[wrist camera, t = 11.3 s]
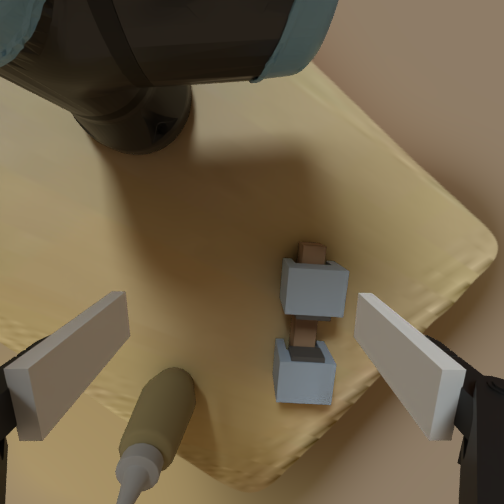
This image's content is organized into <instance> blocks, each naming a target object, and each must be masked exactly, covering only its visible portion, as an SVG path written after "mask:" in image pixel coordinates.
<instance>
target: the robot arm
mask: <svg viewBox="0 0 504 504" xmlns="http://www.w3.org/2000/svg"><path fill="white" fill-rule="evenodd" d="M337 4H338V0H0V77H2V78H4V79H6V80H8V81H10V82H12V83H14V84H16V85H18V86H20V87H22V88H24V89H26V90H28V91H30V92H32V93H34V94H36V95H38V96H40V97H42V98H44V99H46V100H48V101H50V102H52V103H54V104H56V105H58V106H60V107H62V108H64V109H66V110H67V111H70V112H71V113H72V115H73V116H74V118H75V119H76V121H77V122H78V123H79V125H80V126H81V127H82V128H83V129H84V130H85V131H86V132H87V133H88V134H89V135H90V136H91V137H93V138H94V139H95V140H97V141H98V142H100V143H101V144H103V145H105V146H107V147H110V148H112V149H115V150H117V151H120V152H123V153H127V154H148V153H152V152H155V151H158V150H160V149H162V148H164V147H165V146H167V145H168V144H170V143H171V142H172V141H173V140H174V139H175V138H176V137H177V136H178V135H179V133H180V132H181V130H182V129H183V127H184V125H185V123H186V121H187V118H188V115H189V111H190V106H191V87H190V85H197V84H211V83H225V82H239V81H249V82H250V83H258V82H260V81H261V80H263V79H267V78H275V77H283V76H290V75H294V74H297V73H298V72H300V71H302V70H303V69H304V68H305V67H306V66H307V65H308V64H309V62H310V61H311V60H312V59H313V58H314V56H315V55H316V54H317V52H318V50H319V49H320V47H321V45H322V43H323V41H324V39H325V36H326V34H327V31H328V29H329V27H330V24H331V21H332V19H333V16H334V13H335V10H336V6H337ZM129 337H130V330H129V320H128V310H127V300H126V292H116V291H112V292H110V293H109V294H108V295H106V296H105V297H103V298H102V299H101V300H99V301H98V302H96V303H95V304H94V305H92V306H91V307H89V308H88V309H87V310H85V311H84V312H82V313H81V314H80V315H78V316H77V317H75V318H74V319H73V320H71V321H70V322H68V323H67V324H66V325H64V326H63V327H61V328H60V329H59V330H57V331H56V332H54V333H53V334H52V335H49V336H47V337H45V338H43V339H41V340H38V341H36V342H35V343H34V344H32V345H31V346H29V347H28V348H26V350H24V351H22V352H21V353H19V354H18V355H17V357H13V358H12V359H11V360H9V361H8V362H6V363H5V364H3V365H2V366H0V504H5V494H6V473H7V453H8V452H7V451H8V444H7V440H6V436H7V435H8V434H9V433H10V432H11V431H12V430H13V429H14V428H15V427H17V432H18V436H19V440H20V441H43V440H44V438H45V437H46V436H47V435H48V434H49V432H50V431H51V430H52V429H53V428H54V426H55V425H56V424H57V423H58V422H59V420H60V419H61V418H62V417H63V416H64V414H65V413H66V412H67V411H68V409H69V408H70V407H71V406H72V405H73V404H74V403H75V401H76V400H77V399H78V398H79V397H80V395H81V394H82V393H83V392H84V391H85V389H86V388H87V387H88V386H89V385H90V383H91V382H92V381H93V380H94V379H95V377H96V376H97V375H98V374H99V373H100V371H101V370H102V369H103V368H104V367H105V365H106V364H107V363H108V362H109V361H110V359H111V358H112V357H113V356H114V355H115V354H116V352H117V351H118V350H119V349H120V348H121V346H122V345H123V344H124V343H125V342H126V340H127V339H128V338H129ZM354 338H355V339H356V341H357V342H358V343H359V345H360V346H361V348H362V349H363V350H364V352H365V353H366V354H367V356H368V357H369V359H370V360H371V361H372V363H373V364H374V365H375V367H376V368H377V370H378V371H379V372H380V374H381V375H382V376H383V378H384V379H385V381H386V382H387V383H388V385H389V386H390V387H391V389H392V390H393V392H394V393H395V394H396V396H397V397H398V398H399V400H400V401H401V402H402V404H403V405H404V407H405V408H406V409H407V411H408V412H409V413H410V415H411V416H412V418H413V419H414V420H415V422H416V423H417V425H418V426H419V427H420V429H421V430H422V431H423V433H424V434H425V436H426V437H427V438H428V440H451V439H452V434H453V430H454V425H455V426H456V427H457V428H458V429H459V431H460V432H461V433H462V434H463V435H464V437H463V441H462V445H461V450H460V454H459V459H458V464H460V465H461V468H460V488H459V504H504V379H501V378H497V377H493V376H483V375H482V374H481V373H479V372H478V371H477V370H476V369H474V368H473V367H472V366H471V365H469V364H468V363H467V362H465V361H464V360H463V359H462V358H460V357H458V356H457V355H456V354H455V353H454V352H453V351H450V349H449V348H447V347H446V346H445V345H444V344H442V343H441V342H439V341H437V340H435V339H434V338H431V337H430V336H428V335H427V336H426V335H423V334H422V333H420V332H419V331H418V330H417V329H415V328H414V327H413V326H412V325H411V324H409V323H408V322H407V321H406V320H404V319H403V318H402V317H401V316H399V315H398V314H397V313H396V312H395V311H393V310H392V309H391V308H390V307H388V306H387V305H386V304H385V303H384V302H382V301H381V300H380V299H379V298H377V297H376V296H375V295H374V294H372V293H358V301H357V310H356V320H355V329H354Z"/></svg>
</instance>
